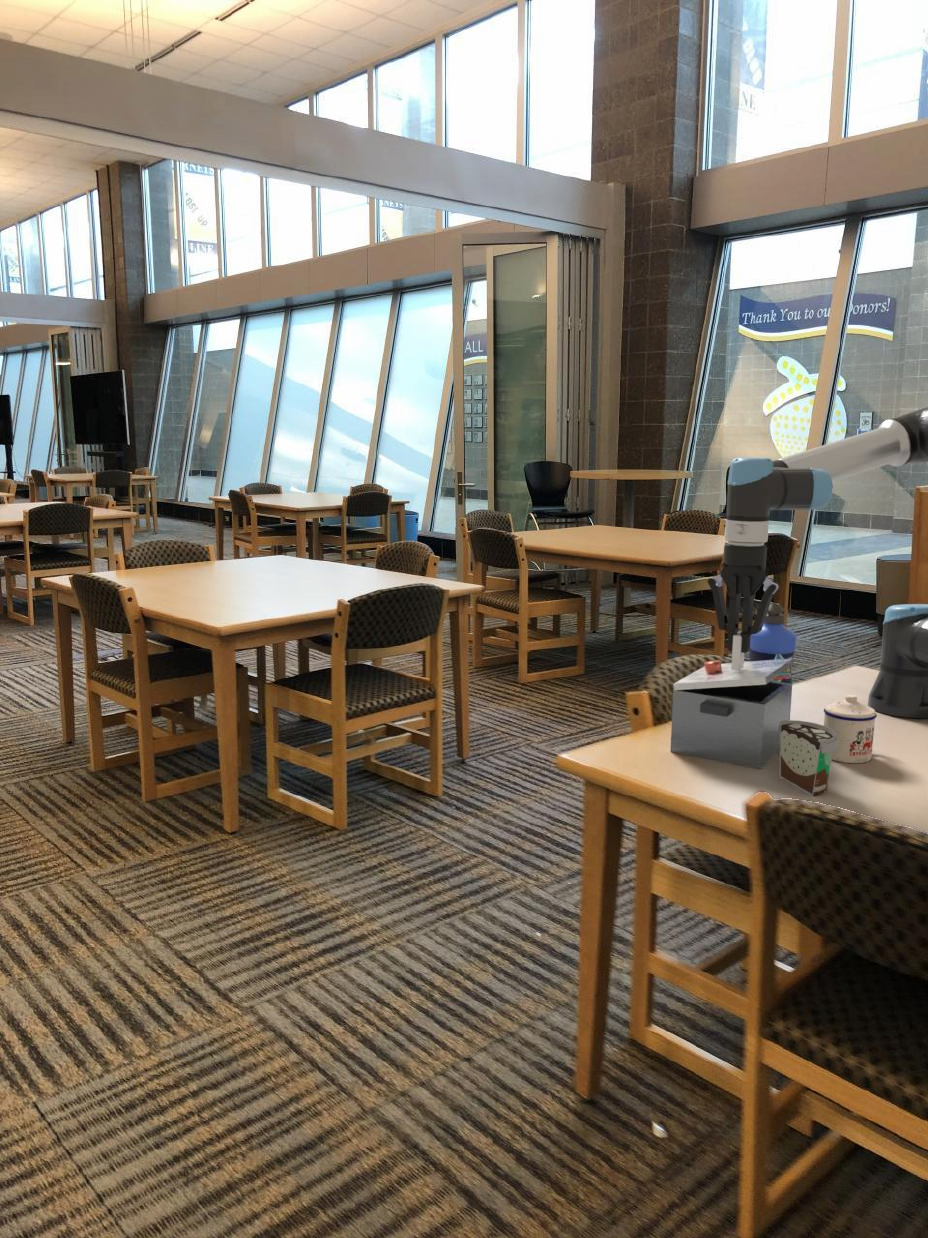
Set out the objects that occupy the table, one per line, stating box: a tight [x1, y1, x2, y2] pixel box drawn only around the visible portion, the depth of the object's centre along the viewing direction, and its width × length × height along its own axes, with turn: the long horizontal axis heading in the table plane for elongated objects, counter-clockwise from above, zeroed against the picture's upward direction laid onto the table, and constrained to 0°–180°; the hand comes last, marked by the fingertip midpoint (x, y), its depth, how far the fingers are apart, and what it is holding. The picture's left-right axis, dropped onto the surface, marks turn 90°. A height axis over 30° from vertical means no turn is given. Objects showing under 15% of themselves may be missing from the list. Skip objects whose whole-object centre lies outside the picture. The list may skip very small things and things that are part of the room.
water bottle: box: [748, 602, 798, 720], centre depth 197 cm, size 9×9×25 cm
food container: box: [778, 719, 838, 797], centre depth 164 cm, size 12×6×10 cm, turn 17°
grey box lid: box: [673, 657, 795, 690], centre depth 181 cm, size 17×18×3 cm
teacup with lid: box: [823, 694, 878, 764], centre depth 179 cm, size 12×9×12 cm
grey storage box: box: [670, 681, 793, 770], centre depth 183 cm, size 17×21×12 cm
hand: (737, 668), depth 181 cm, fingers closed
